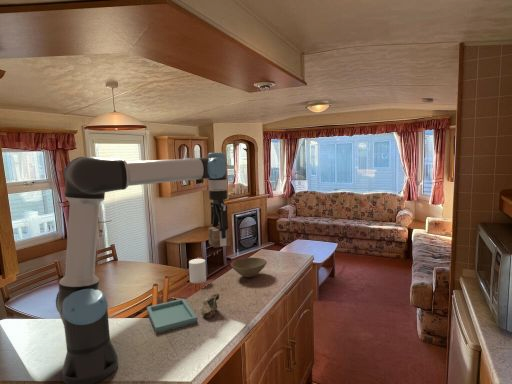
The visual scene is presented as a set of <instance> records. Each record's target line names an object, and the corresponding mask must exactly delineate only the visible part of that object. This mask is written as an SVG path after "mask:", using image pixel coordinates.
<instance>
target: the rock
mask: <svg viewBox="0 0 512 384" xmlns="http://www.w3.org/2000/svg"><path fill="white" fill-rule="evenodd" d="M219 299H220V294H219V293H218V292H217V293H215V294H212V295H210V296H209V297H206V298H204V300H203V302H202V308H201V315H202V316H203V317H204V318H206V319H210V318H212V317H213V316H214V315H215V314H216V311H218V303H217V301H218V300H219Z"/></svg>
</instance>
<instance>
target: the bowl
mask: <svg viewBox="0 0 512 384" xmlns="http://www.w3.org/2000/svg"><path fill="white" fill-rule="evenodd" d="M267 262H268V261H267V260H266V259H264V258H262V257H242V258H241V257H240V258H238V259H234V260H233V261H232V262H231V264H230V265H231V267H232V269H233V270H234V271H235V272H236V273H237V274H239V275H240V276H242V277H244V278H253V277H255V276H257V275H258V274H259V273H261V271H262V270H264V268H265V267H266V266H267Z"/></svg>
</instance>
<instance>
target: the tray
mask: <svg viewBox="0 0 512 384" xmlns="http://www.w3.org/2000/svg"><path fill="white" fill-rule="evenodd" d="M146 311H147V312H146V313H147V315H148V318H149V320H150V322H151V325H152V327H153V330H154V332H155V334H156V333H157V334H160V333H164V332H168V331H171V330H170V329H172V330H174V328H175V329H179V328H182V326H183V327H186V325H187V326H189V325H193V324H198V317H197V315H196V313H195V312H194V311H193V309H192V308H191V307H190V305H189V304H188V302H187V301H186V300H185V298H180V299H176V300H169V301H166V302H163V303H158V304H154V305H149V306H146ZM178 327H179V328H178ZM167 330H168V331H167Z"/></svg>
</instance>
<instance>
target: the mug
mask: <svg viewBox="0 0 512 384" xmlns="http://www.w3.org/2000/svg"><path fill="white" fill-rule="evenodd" d="M188 268H189V270H188V271H189V282H190V283H191V284H202V283H204V282H206V281H207V267H206V259H205V258H204V259H203V258H194V259H191V260H189V261H188Z"/></svg>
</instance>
